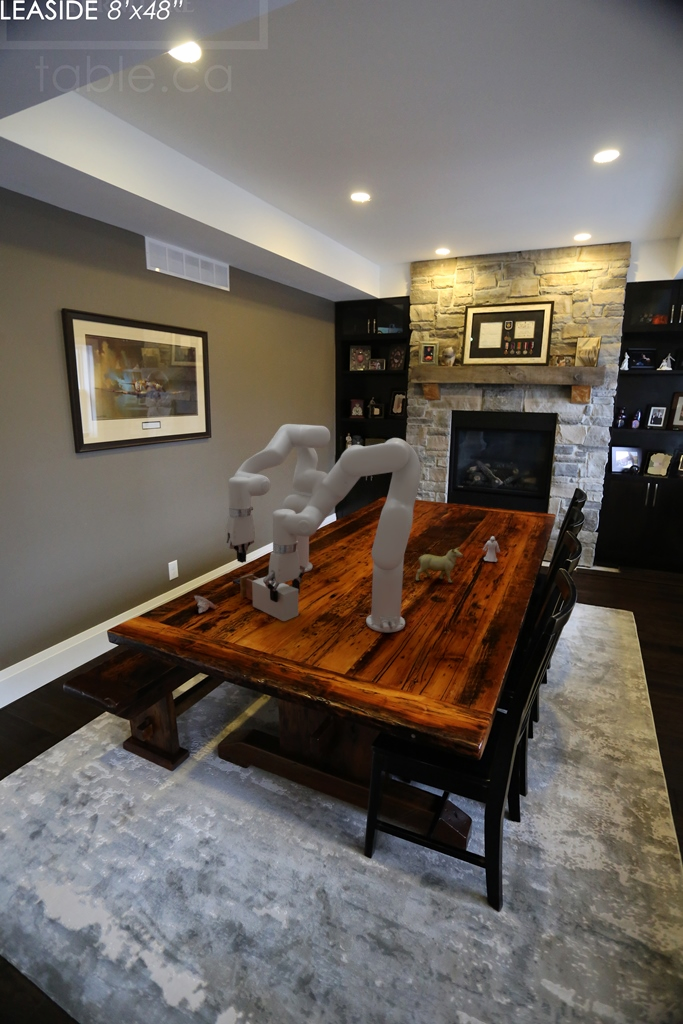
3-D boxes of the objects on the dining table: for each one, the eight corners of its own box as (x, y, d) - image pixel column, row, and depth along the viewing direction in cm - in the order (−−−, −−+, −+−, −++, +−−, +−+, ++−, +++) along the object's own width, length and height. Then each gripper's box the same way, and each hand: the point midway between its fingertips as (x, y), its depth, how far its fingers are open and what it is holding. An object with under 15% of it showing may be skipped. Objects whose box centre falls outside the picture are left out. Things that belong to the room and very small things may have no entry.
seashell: (200, 621, 170) (185, 603, 169) (211, 610, 173) (196, 593, 173) (208, 616, 164) (192, 598, 163) (220, 606, 167) (204, 588, 166)
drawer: (231, 592, 183) (230, 572, 181) (243, 588, 187) (242, 569, 185) (268, 610, 169) (267, 589, 167) (279, 605, 173) (279, 584, 171)
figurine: (481, 562, 222) (483, 536, 219) (482, 556, 230) (484, 531, 227) (499, 564, 220) (501, 538, 217) (499, 558, 228) (501, 533, 225)
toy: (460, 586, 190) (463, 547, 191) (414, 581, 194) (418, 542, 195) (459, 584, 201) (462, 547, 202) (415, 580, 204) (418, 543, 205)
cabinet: (252, 606, 174) (252, 581, 172) (267, 600, 178) (266, 576, 176) (284, 621, 163) (283, 594, 161) (298, 615, 168) (298, 589, 165)
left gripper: (250, 506, 183) (252, 554, 188) (215, 513, 173) (218, 563, 177) (263, 510, 178) (264, 559, 183) (228, 517, 168) (230, 569, 172)
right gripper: (296, 539, 170) (297, 586, 174) (256, 550, 158) (257, 601, 162) (312, 544, 165) (311, 592, 170) (271, 556, 153) (272, 608, 157)
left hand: (241, 561), depth 180 cm, fingers closed
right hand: (285, 596), depth 166 cm, fingers open, 9 cm apart
